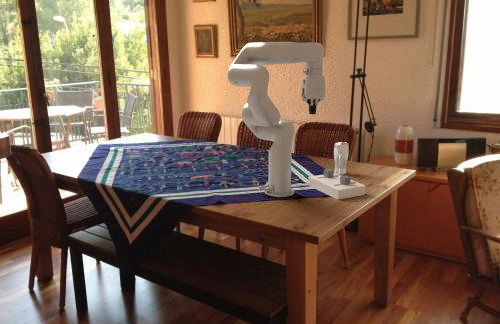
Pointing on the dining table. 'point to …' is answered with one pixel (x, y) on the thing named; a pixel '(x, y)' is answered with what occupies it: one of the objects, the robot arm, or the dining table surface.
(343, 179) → the front switch
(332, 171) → the back switch
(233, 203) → the dining table surface
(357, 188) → the switch panel
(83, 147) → the dining table surface
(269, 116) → the robot arm
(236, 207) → the dining table surface
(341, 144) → the beer glass
